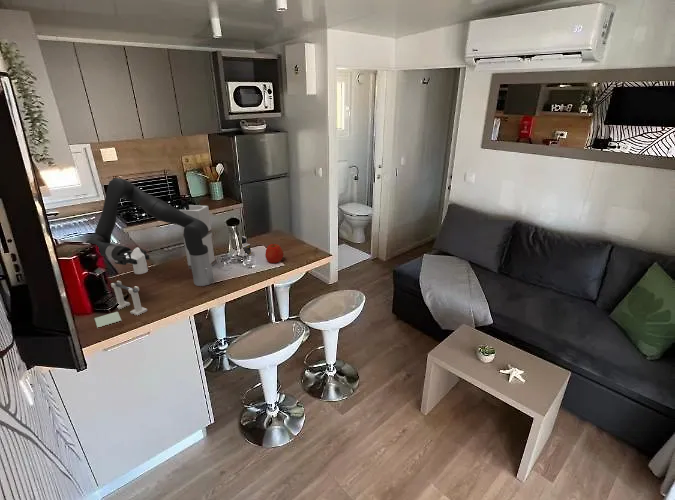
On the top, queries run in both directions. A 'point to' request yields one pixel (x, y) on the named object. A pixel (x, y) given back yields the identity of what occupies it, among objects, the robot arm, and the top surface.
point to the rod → (125, 287)
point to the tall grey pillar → (203, 215)
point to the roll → (139, 261)
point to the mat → (107, 319)
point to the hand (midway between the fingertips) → (142, 259)
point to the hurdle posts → (122, 303)
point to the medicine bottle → (246, 245)
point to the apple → (274, 253)
